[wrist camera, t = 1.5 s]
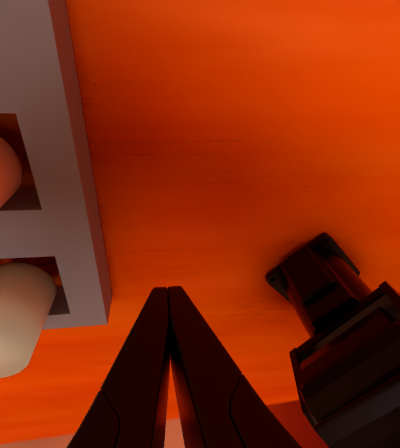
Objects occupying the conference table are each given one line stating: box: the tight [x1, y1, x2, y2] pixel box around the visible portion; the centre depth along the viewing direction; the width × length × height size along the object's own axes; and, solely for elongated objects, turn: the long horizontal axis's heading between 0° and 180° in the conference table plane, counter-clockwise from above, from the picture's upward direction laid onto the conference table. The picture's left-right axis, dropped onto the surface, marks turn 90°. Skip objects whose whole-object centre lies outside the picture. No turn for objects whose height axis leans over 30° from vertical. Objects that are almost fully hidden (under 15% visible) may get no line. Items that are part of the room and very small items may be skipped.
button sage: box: [0, 262, 57, 378], centre depth 17 cm, size 4×4×5 cm
